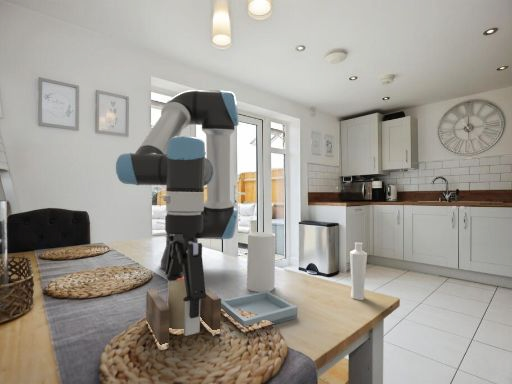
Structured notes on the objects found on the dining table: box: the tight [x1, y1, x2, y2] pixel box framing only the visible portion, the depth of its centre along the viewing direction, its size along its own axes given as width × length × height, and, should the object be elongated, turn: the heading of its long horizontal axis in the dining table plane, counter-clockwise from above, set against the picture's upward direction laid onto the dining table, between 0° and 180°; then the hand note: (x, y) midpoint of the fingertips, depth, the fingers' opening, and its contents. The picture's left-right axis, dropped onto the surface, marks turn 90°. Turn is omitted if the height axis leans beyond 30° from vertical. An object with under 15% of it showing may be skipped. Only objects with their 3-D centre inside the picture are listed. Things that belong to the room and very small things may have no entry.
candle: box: [168, 279, 187, 329], centre depth 56 cm, size 6×6×10 cm
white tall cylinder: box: [246, 231, 276, 293], centre depth 82 cm, size 8×8×16 cm
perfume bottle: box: [349, 242, 368, 301], centre depth 75 cm, size 5×4×15 cm
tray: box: [221, 291, 298, 327], centre depth 63 cm, size 12×14×2 cm
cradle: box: [145, 286, 222, 345], centre depth 56 cm, size 12×12×7 cm
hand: (181, 320), depth 56 cm, fingers open, 11 cm apart
